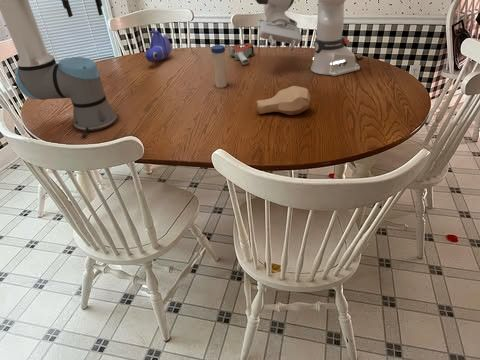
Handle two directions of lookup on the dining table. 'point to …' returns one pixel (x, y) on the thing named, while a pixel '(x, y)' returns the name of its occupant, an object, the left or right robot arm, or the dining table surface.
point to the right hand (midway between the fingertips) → (283, 47)
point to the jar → (219, 69)
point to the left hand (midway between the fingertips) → (85, 15)
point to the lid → (217, 49)
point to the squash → (286, 101)
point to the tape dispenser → (242, 52)
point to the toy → (158, 48)
